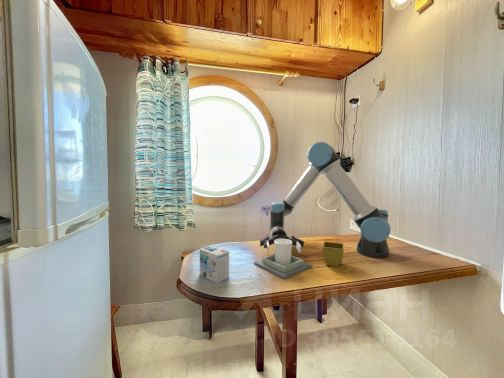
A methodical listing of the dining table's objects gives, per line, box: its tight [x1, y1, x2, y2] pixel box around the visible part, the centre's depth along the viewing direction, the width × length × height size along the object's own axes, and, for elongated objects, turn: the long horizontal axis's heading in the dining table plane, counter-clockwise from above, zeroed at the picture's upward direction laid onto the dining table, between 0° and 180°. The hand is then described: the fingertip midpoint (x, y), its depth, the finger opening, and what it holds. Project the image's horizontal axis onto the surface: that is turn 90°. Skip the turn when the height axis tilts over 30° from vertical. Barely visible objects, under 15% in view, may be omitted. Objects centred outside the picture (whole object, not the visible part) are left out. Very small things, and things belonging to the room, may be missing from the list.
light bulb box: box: [199, 244, 230, 284], centre depth 89 cm, size 11×7×11 cm, turn 51°
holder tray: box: [253, 253, 313, 280], centre depth 101 cm, size 18×18×3 cm
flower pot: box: [322, 240, 345, 268], centre depth 102 cm, size 9×9×9 cm
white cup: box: [273, 239, 293, 266], centre depth 100 cm, size 8×8×10 cm
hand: (284, 249), depth 97 cm, fingers open, 13 cm apart
